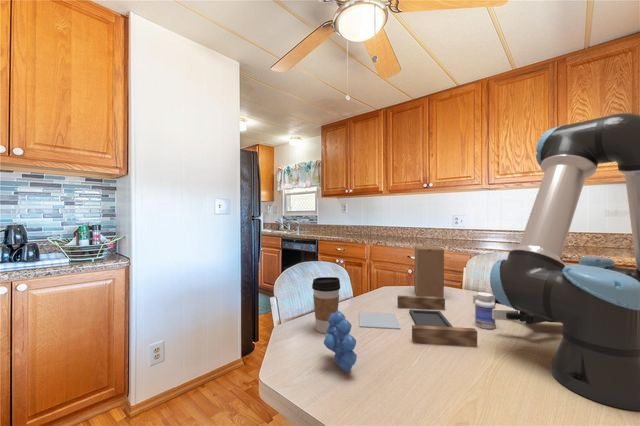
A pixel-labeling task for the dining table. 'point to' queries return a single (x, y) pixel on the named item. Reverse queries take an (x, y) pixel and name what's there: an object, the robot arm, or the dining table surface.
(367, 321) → the pad
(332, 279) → the coffee cup
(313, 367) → the dining table surface
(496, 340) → the dining table surface
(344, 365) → the grapes
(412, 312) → the tray
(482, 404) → the dining table surface
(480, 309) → the pill bottle
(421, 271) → the wooden block
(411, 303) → the walnut lane walls
